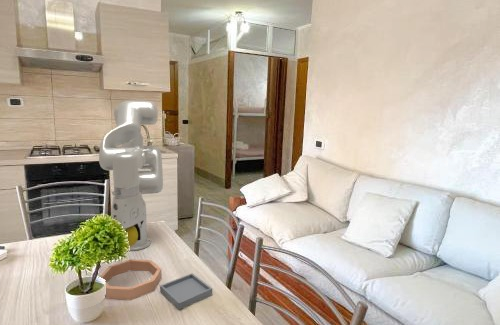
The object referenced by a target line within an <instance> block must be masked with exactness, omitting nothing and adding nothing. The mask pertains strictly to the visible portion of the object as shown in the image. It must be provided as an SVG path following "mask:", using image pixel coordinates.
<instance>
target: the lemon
mask: <svg viewBox="0 0 500 325" xmlns="http://www.w3.org/2000/svg"><path fill="white" fill-rule="evenodd" d="M125 231H126V232H128V241H129V245H130V247H131V246H132V245H134V244H135V243H136V242H137V239H138V232H137V229H136V228H135V227H134V226H131V227H129V228H127V229H125Z"/></svg>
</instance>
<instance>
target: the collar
mask: <svg viewBox="0 0 500 325" xmlns="http://www.w3.org/2000/svg"><path fill="white" fill-rule="evenodd" d="M129 271H144V272H145V271H146V272H148V271H149V272H150V273H151V274H152V277H151V279H149V280H147V281H144V282H142V283H138V284H136V285H133V286H131V287H130V286H129V287H128V286H114V285H110V284H108V282H109V281H110V280H111V279H112V277H114V276H117V275H120V274H123V273H126V272H129ZM99 276H100V277H101V278H103V279H105V280H106V281H105V282H106V296H105V298H106V299H109V300H112V299H113V300H127V301H128V300H130V301H132V300H134V299H136V298H140V297H141V296H144V295H148V294H149V293H153V292H154V291H156V288H157V286H158V285H159V283H160V282H161V280H162V268H161V267H160V266H159V265H158V264H156V263H155V261H153V260H151V259H150V260H149V259H132V258H131V259H127V260H123V261H121V262H118V263H115V264H111V265H108V267H107V268H105V269H104V271H103V272H102V273H101V274H100V275H99Z"/></svg>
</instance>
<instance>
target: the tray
mask: <svg viewBox="0 0 500 325" xmlns="http://www.w3.org/2000/svg"><path fill="white" fill-rule="evenodd" d="M159 292H160V294H162V296H164V297H165V299H167V300H168V301H169V302H170V303H171V304H172V305H173V306H174V307H176V308H177V310H179V311H180V310H182V309H185V308H186V307H188V306H191V305H193V304H196V303H198V302H199V301H201V300H203V299H206V298H208V297H210V296H212V295H213V288H212V287H211V286H210V285H208V284H207V283H206V282H204V281H203V280H202V279H200V278H199V277H198V276H197V275H195V273H192V272H191V273H189V274H187V275H183V276H181V277H178V278H176V279H174V280H171V281H168V282H166V283H163V284H161V285H159Z"/></svg>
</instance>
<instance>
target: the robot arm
mask: <svg viewBox="0 0 500 325" xmlns="http://www.w3.org/2000/svg"><path fill="white" fill-rule="evenodd" d="M113 110H114V111H113V116H114V121H115V124H116V126H115V127H114V128H112V129H111V130H110V131H108V132H107V133H106V134H105V135H104V136H103V138H102V140H101V142H100V147H99V153H98V163H99V165H100V168H101V169H103V170H105V171H112V178H113V180H112V181H113V191H112V192H111V194H112V196H113V198H112V204H111V219H112V218H113V219H115V220H118V221H119V222H120V223H121V224H122V226H123V228H124V229H127V228H129V227H131V226H134V227H135V228H136V229H137V232H138V239H137V242H136V243H135V244H134V245H132V246H131V247H130V251H131V252H132V251H139V250H140V251H141V250H144V249H145V248H148V247H149V246H150V245H151V244H152V239H151V238H150V237H148V228H147V203H146V201H145V199H143V195H149V194H150V195H151V194H159V193H161V192H162V190H163V188H164V179H163V178H164V177H163V176H164V175H163V157H162V152H161V149H159V147H157V146H148V145H147V146H144V137H143V134H142V126H143V125H144V126H145V125H147V126H153V125H156V124H157V122H158V119H159V118H158V117H159V116H158V115H159V110H158V107H157V105H156V103H155V102H154V101H150V100H125V101H122V102H121V103H119V105H117V106H115V107H114V109H113ZM120 145H121V147H118V146H120ZM130 251H129V252H130Z"/></svg>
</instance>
